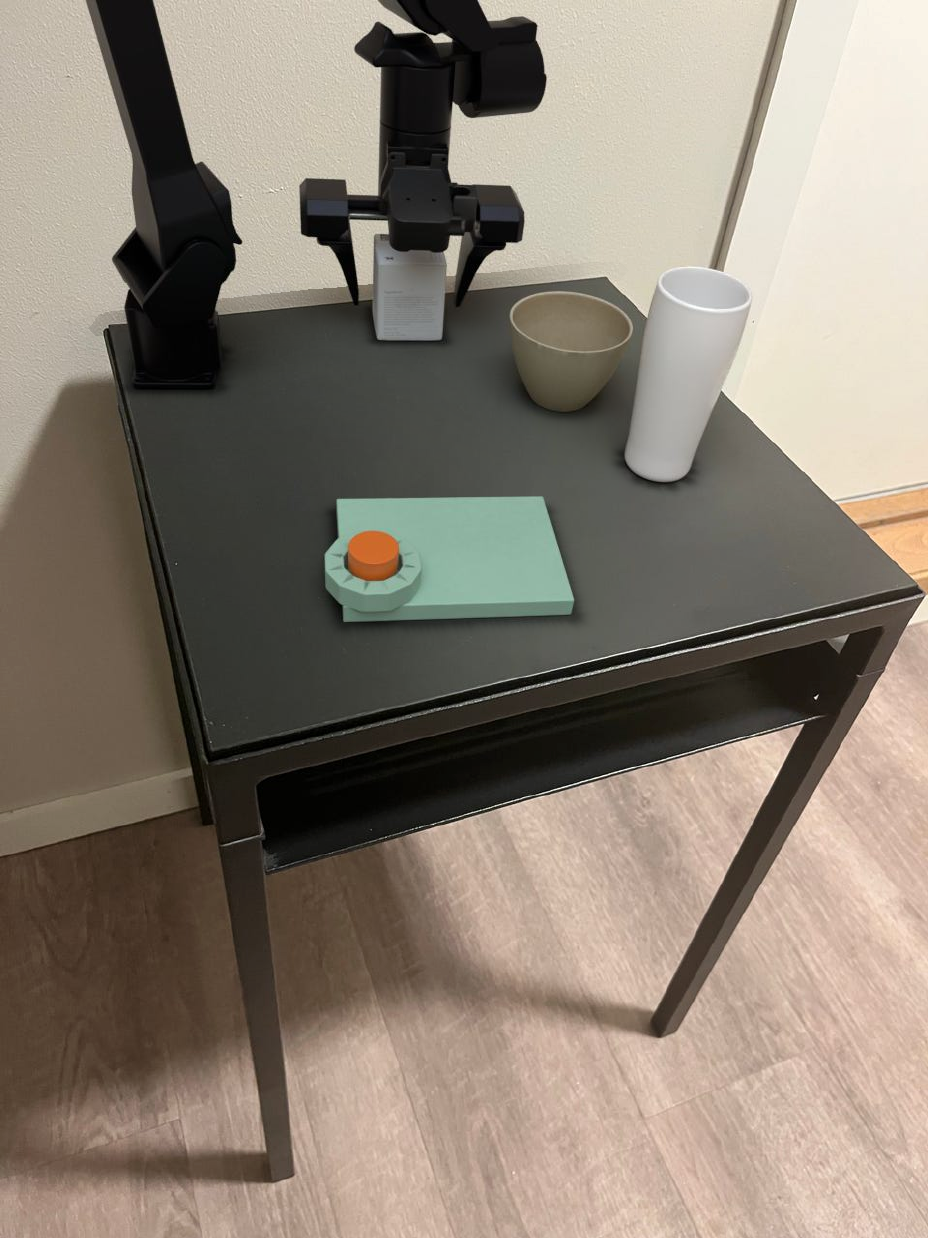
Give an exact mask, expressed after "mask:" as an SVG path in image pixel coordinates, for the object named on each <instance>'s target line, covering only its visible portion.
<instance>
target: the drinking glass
mask: <svg viewBox="0 0 928 1238" xmlns="http://www.w3.org/2000/svg"><path fill="white" fill-rule="evenodd" d="M752 303H753V292H752V291H751V288H749V286H747V284H746V283H744V282H743V281H742V280H740V279H738V278H737V277H735V276H733V275H731V274H729V273H726V272H723V271H721V270H718V269H714V268H709V267H704V266H703V267H702V266H693V265H691V266H690V265H689V266H678V267H673V268H669V269H666V270H665V271H664V272H662V273H661V274H660V275H659V276H658V278H657V280H656V284H655V288H654V292H653V294H652V298H651V301H650V305H649V309H648V314H647V317H646V320H645V321H646V322H645V326H644V331H643V335H642V343H641V350H640V356H639V363H638V369H637V370H638V371H637V377H636V385H635V390H634V391H635V392H634V397H633V404H632V411H631V418H630V425H629V431H628V436H627V441H626V443H625V448H624V460H625V463H626V465H627V467H628V468H629V469H630V470H631V471H632V472H633V473H634V474H636V475H637V476H639V477H641V478H643V479H646V480H648V481H652V482H657V483H671V482H675V481H679V480H681V479H683V478H685V476H686V475H687V474H688V473H689V472H690V470H691V468H692V465H693V462H694V459H695V456H696V453H697V450H698V447H699V445H700V442H701V440H702V437H703V436H704V432H705V430H706V428H707V425H708V423H709V420H710V419H711V415H712V413H713V412H714V409H715V406H716V403H717V401H718V399H719V396H720V394H721V392H722V390H723V387H724V385H725V383H726V380H727V378H728V376H729V373H730V370H731V368H732V366H733V364H734V361H735V358H736V356H737V353H738V350H739V347H740V344H741V341H742V338H743V335H744V332H745V328H746V326H747V322H748V319H749V314H750V312H751V311H750V310H751V307H752Z"/></svg>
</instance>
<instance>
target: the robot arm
mask: <svg viewBox="0 0 928 1238" xmlns="http://www.w3.org/2000/svg"><path fill="white" fill-rule="evenodd" d="M377 1H378V2H379V3H380V5H381V6H382V7H383V8H385V9H386V10H387V11H389V12H391V13H393V15H396V16H397V17H398V18H400V19H402V20H404V21H405V22H407V23H408V24H410V25H411V26H413V27H415V28H417V29H418V30H420V31H417V32H400V33H399V32H398V33H394V31H393V30H392V28H390V27H388V26H387V25H385V24H384V23H382V22H381V21H376V22H375V23H374V25H373V26H372V28H371V29H370V31H368V33H367V34H365V35H364V36H363V37H362V38H361V39H360V40H359V41H357V43H355V45H354V47H353V51H354V52H355V54H356V55H357V56H359V57H360V58H361V59H363V60H364V61H365V62H367V63H368V64H370V65H371V66H372V67H374V68H380V94H379V95H380V96H379V132H378V133H379V135H378V136H379V137H378V171H377V172H378V179H377V181H378V182H377V195H373V194H370V195H369V194H348V188H347V180H346V179H343V178H341V179H340V178H314V177H313V178H312V177H311V178H310V177H305V178H304V179H303V181H301V183H300V184H299V185H298V187H299V189H298V190H299V191H298V192H299V223H300V235H302V236H304V237H307V238H316V243H317V244H318V245H319V246H323V247H329V248H330V249H331V251H332V253H333V254H334V255H335V257H336V259H337V261H338V263H339V265H340V268H341V270H342V273H343V276H344V279H345V282H346V285H347V288H348V291H349V294H350V297H351V300H352V303H353V306H355V307H357V306H359V303H360V289H359V282H358V281H359V280H358V273H357V266H356V259H355V251H354V243H353V237H352V236H353V235H352V229H351V220H352V221H382V222H383V221H384V222H385V221H386V222H387V228H388V229H387V231H388V234H389V243H390V246H391V247H392V248H393V249H394V250H396V251H400V252H408V251H410V250H425V251H431V252H433V253H440V252H444V253H445V251H447V250H448V249H449V246H450V238H451V237H461V239H460V245H459V252H458V253H459V254H458V258H457V265H456V266H457V267H456V272H455V278H454V286H453V288H454V289H453V304H454V307H455V308H461V306H462V303H463V301H464V299H465V297H466V295H467V292H468V290H469V288H470V286H471V285H472V282H473V281H474V278H475V276H476V274H477V272H478V271H479V269H480V267H481V265H482V264H483V262H484V261H485V259H486V258H487V257H488V256H489V255H491V254H493V253H494V252H496V251H497V252H498V251H504V250H505V249H506V247H507V244H508V243H509V244H518V243H520V242H522V241H523V238H524V237H523V236H524V229H525V222H526V221H525V211H524V208H523V206H522V204H521V200H520V198H519V196H518V194H517V192H516V191H515V190H514V188H513V187H512V186H511V185H503V184H476V183H474V184H459V183H458V182H454V181H453V182H452V179H451V175H450V171H449V163H450V161H449V159H450V145H451V131H452V119H453V118H452V117H453V106H454V105H457V106H458V109H459V111H461V113H462V114H463V115H464V116H465V117H466V118H470V119H478V118H488V117H500V116H509V115H518V114H528V113H533V112H534V111H536V110H537V109H538V108H539V106H540V105H541V103H542V101H543V99H544V96H545V92H546V87H547V79H548V78H547V77H548V76H547V74H546V71H545V70H546V69H545V62H544V56H543V53H542V49H541V47H540V44H539V43H538V40H537V34H538V24H537V22H536V21H534V20H532V19H530V18H528V17H526V16H523V15H522V16H520V15H519V16H510V17H508V18H505V19H501V20H488V18H487V17H486V14H485V11H484V10H483V8H482V6H481V5H480V1H479V0H377ZM85 3H86V7H87V9H88V13H89V17H90V19H91V23H92V26H93V29H94V30H93V31H94V33H95V36H96V40H97V43H98V46H99V50H100V53H101V56H102V60H103V63H104V67H105V70H106V74H107V76H108V80H109V83H110V87H111V90H112V93H113V96H114V99H115V104H116V107H117V110H118V114H119V117H120V120H121V123H122V127H123V130H124V133H125V137H126V140H127V144H128V147H129V151H130V154H131V159H132V172H131V173H132V174H131V199H132V206H133V207H132V208H133V213H134V214H133V215H134V223H135V227H134V228H133V230H132V231H131V233H129V235H128V236H127V238H126V239H125V240H124V241H123V243H122V244H121V245H120V247H119V248H118V249H117V250H116V252H115V253H114V254H113V255H112V257H111V262H112V264H113V265H114V267H115V269H116V270H117V272H118V274H119V275H120V277H121V279H122V280H123V282H124V283H125V284H126V285H127V287H128V288H129V289H127V294H126V299H125V302H124V307H123V308H124V313H125V319H126V320H125V321H126V325H127V332H128V338H129V343H130V350H131V354H132V361H133V366H134V368H133V372H132V377H131V383H132V387H134V388H137V389H212V388H214V387H215V385H216V378H217V371H220V370H221V369H222V361H223V348H222V339H221V337H222V336H221V327H220V318H219V312H218V310H217V309H216V307H217V303H218V299H219V296H220V294H221V289H222V286H223V284H224V283H225V282H226V281H228V278H229V277H230V275H231V273H233V272H234V271H235V268H236V265H237V254H236V247H235V245H239V246H240V245H242V244H243V239H242V238H241V237H240V235H239V234H238V232H237V231H236V228H235V225H234V220H233V209H232V205H233V204H232V200H231V199H232V198H231V194H230V190H229V189H228V188H227V187H226V186H225V185H224V184H223V182H222V181H221V180H220V179H219V178H218V177H217V175H215V174H214V172H213V171H212V170H211V169H210V167H208V165H206V164H205V163H204V161H199V162H197V163H196V162H195V160H194V158H193V154H192V149H191V145H190V140H189V136H188V133H187V129H186V125H185V122H184V118H183V117H184V116H183V113H182V109H181V106H180V102H179V97H178V93H177V89H176V85H175V81H174V78H173V73H172V70H171V66H170V62H169V58H168V54H167V50H166V46H165V42H164V37H163V35H162V30H161V26H160V23H159V19H158V18H159V17H158V14H157V10H156V5H155V2H154V0H85ZM441 34H443V35H445V36H447V37H448V38H450V39H451V41H447V42H446V41H445V42H443V41H442V42H434V40H432V38H431V37H430V36H434V37H436V36H438V35H441ZM453 104H454V105H453Z"/></svg>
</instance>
